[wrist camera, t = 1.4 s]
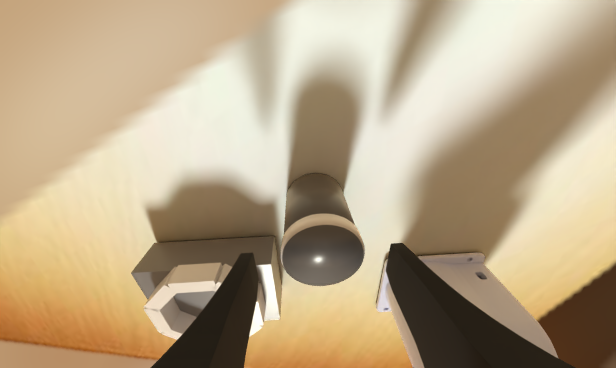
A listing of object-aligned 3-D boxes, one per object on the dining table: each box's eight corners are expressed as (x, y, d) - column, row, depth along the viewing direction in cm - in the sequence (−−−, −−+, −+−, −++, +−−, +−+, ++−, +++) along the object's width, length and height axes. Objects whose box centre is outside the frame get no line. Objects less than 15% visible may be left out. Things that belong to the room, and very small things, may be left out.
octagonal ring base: (273, 231, 18) (267, 277, 14) (282, 292, 22) (279, 341, 18) (152, 238, 18) (112, 287, 14) (182, 298, 22) (157, 350, 18)
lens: (345, 170, 16) (370, 223, 11) (342, 220, 18) (362, 284, 13) (282, 173, 16) (276, 228, 11) (287, 223, 18) (284, 289, 13)
